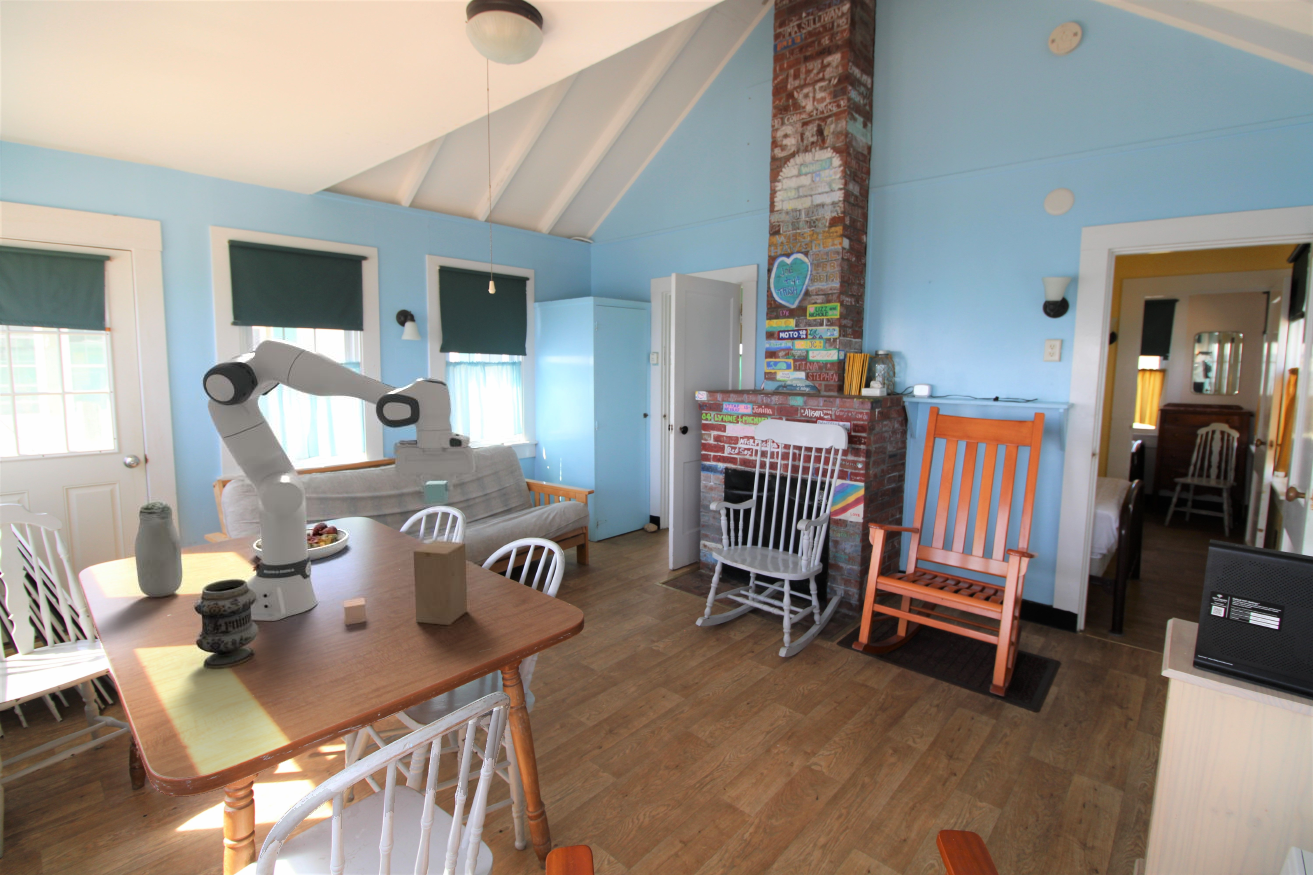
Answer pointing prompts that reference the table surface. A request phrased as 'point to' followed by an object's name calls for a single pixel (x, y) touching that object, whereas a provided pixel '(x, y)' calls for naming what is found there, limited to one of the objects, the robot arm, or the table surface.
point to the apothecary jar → (226, 622)
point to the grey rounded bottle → (158, 551)
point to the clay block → (354, 611)
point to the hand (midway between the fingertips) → (436, 490)
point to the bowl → (318, 541)
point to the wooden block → (440, 582)
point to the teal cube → (435, 492)
